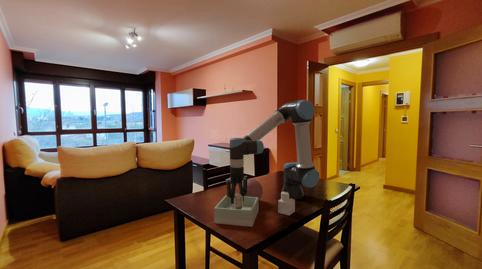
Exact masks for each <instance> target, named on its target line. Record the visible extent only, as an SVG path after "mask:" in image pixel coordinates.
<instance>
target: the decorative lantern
mask: <svg viewBox="0 0 482 269" xmlns="http://www.w3.org/2000/svg"><path fill="white" fill-rule="evenodd" d="M242 183H243V181H242ZM242 185H243V184H242ZM263 189H264V188H263V185H262V184H261V182H260V181H259V180H257V179H255V178H248V180H247V194H245V197H258V202H259V201H260V200H261V198H263V197H262V196H263V193H264V192H263V191H264V190H263ZM237 193H239V194H240V191H239V190H238V192H237Z"/></svg>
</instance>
